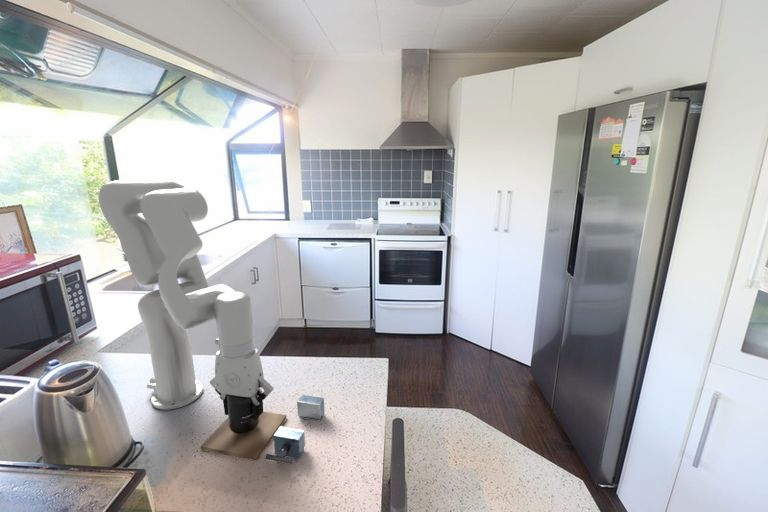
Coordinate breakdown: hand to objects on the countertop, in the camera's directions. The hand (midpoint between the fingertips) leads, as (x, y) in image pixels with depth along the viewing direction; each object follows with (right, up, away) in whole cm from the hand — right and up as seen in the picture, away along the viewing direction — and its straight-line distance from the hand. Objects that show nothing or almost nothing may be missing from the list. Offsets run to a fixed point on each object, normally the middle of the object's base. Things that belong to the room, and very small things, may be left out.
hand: (243, 413), depth 87 cm
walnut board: (0, -5, +1) cm, 6 cm away
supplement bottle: (0, -3, +1) cm, 3 cm away
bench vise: (+13, -6, 0) cm, 14 cm away
